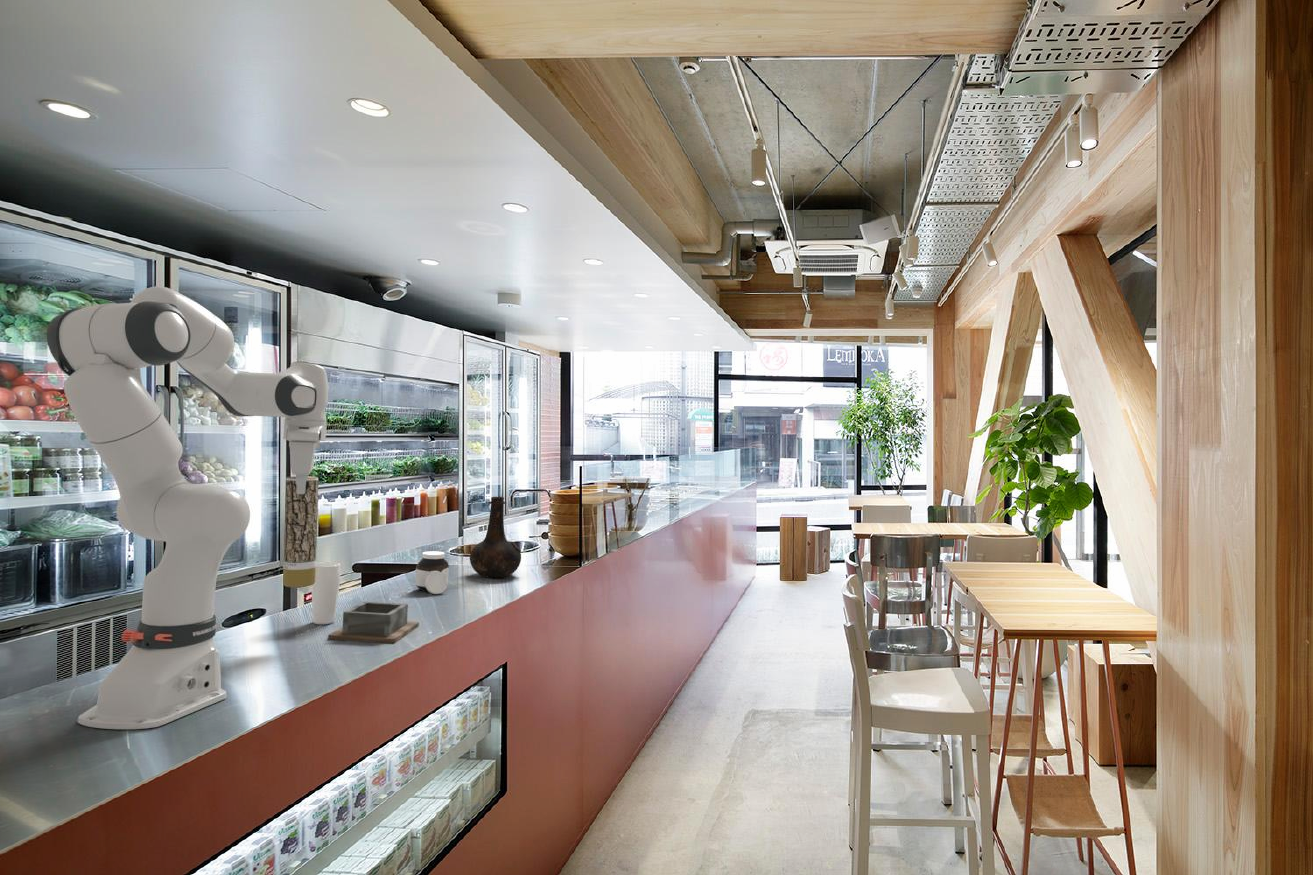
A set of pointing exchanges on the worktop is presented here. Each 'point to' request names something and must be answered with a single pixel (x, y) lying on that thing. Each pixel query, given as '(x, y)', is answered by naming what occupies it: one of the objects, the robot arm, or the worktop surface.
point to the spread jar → (432, 572)
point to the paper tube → (300, 533)
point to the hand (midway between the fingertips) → (301, 492)
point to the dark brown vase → (495, 547)
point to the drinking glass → (325, 592)
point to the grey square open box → (375, 623)
